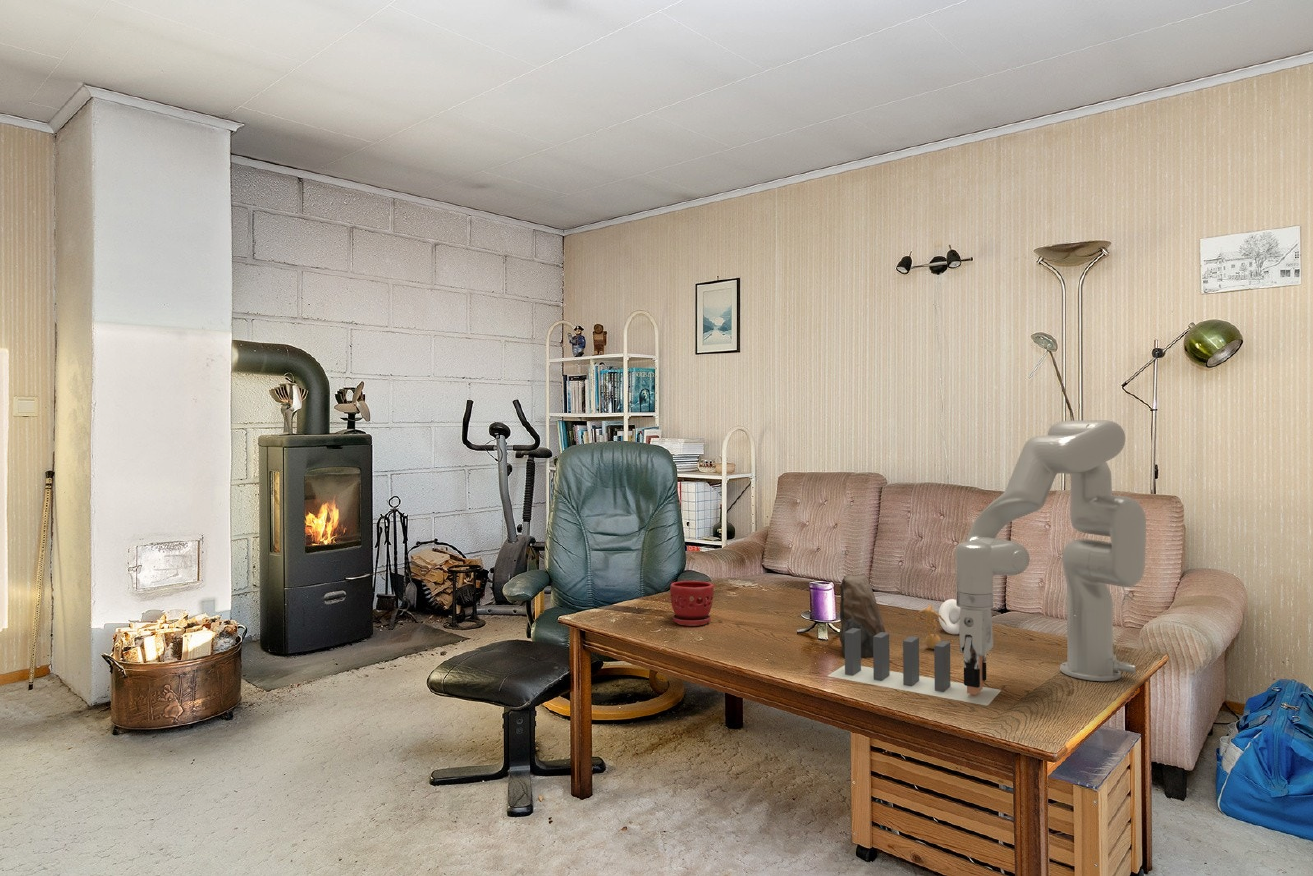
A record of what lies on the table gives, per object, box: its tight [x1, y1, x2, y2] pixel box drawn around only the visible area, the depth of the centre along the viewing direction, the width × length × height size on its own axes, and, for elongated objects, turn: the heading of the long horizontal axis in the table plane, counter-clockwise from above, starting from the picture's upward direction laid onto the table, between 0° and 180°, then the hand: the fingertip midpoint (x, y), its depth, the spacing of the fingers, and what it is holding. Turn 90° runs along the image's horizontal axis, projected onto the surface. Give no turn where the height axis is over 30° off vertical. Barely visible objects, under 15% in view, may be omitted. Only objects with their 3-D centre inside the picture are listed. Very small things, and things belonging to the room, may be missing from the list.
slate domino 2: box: [872, 631, 891, 681], centre depth 187 cm, size 2×5×10 cm, turn 144°
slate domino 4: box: [933, 640, 951, 692], centre depth 179 cm, size 2×5×10 cm, turn 144°
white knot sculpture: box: [938, 598, 960, 636], centre depth 228 cm, size 11×12×9 cm
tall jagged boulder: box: [838, 572, 891, 659], centre depth 209 cm, size 13×13×20 cm
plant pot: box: [669, 580, 715, 627], centre depth 244 cm, size 13×13×12 cm
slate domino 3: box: [902, 635, 920, 686], centre depth 183 cm, size 2×5×10 cm, turn 144°
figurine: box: [915, 604, 947, 650], centre depth 211 cm, size 8×6×12 cm
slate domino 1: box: [844, 628, 862, 676], centre depth 191 cm, size 2×5×10 cm, turn 144°
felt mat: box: [827, 664, 1002, 707], centre depth 183 cm, size 36×12×1 cm, turn 54°
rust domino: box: [967, 651, 984, 695], centre depth 175 cm, size 2×5×10 cm, turn 144°
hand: (975, 682), depth 175 cm, fingers closed on rust domino, 4 cm apart
